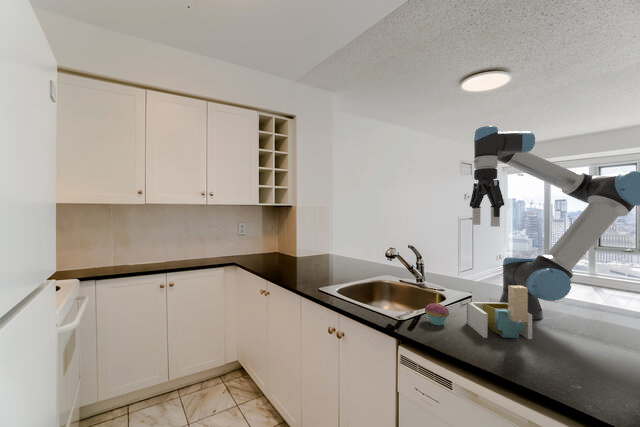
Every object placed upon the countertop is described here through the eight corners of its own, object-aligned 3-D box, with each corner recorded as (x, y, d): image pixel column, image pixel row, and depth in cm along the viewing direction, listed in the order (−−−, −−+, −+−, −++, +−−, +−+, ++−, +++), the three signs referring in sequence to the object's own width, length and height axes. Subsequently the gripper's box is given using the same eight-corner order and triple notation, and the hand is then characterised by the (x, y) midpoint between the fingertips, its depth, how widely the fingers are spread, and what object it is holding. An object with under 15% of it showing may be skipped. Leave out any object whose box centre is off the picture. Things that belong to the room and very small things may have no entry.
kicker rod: (519, 335, 95) (520, 282, 94) (534, 345, 88) (534, 288, 87) (494, 334, 95) (494, 282, 95) (506, 344, 88) (507, 287, 88)
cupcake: (451, 328, 103) (451, 295, 102) (426, 326, 104) (426, 293, 104) (445, 319, 111) (446, 288, 111) (422, 317, 113) (423, 287, 113)
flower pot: (482, 328, 103) (481, 302, 104) (507, 328, 103) (505, 303, 103) (495, 336, 94) (494, 308, 95) (523, 337, 94) (521, 309, 95)
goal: (509, 324, 106) (509, 302, 106) (531, 339, 94) (532, 314, 94) (466, 323, 107) (466, 301, 107) (483, 337, 95) (483, 313, 95)
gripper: (461, 173, 120) (460, 223, 120) (493, 163, 95) (492, 227, 95) (479, 173, 119) (479, 224, 119) (516, 163, 94) (516, 227, 95)
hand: (485, 225), depth 107 cm, fingers open, 13 cm apart
